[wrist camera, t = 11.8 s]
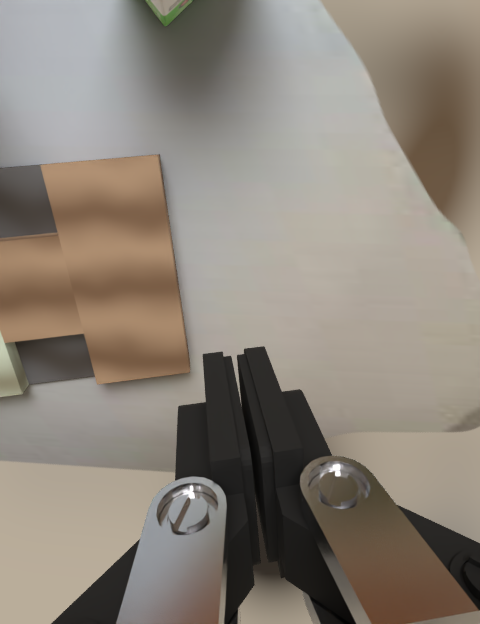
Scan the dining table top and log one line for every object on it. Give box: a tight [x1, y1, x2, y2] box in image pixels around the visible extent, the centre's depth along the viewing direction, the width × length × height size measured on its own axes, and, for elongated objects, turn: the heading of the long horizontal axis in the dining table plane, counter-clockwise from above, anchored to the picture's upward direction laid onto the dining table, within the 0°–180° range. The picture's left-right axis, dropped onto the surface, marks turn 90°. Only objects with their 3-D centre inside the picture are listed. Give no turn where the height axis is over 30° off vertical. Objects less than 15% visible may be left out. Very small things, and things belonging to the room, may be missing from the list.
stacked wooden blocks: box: [0, 155, 190, 397], centre depth 35 cm, size 20×25×3 cm
